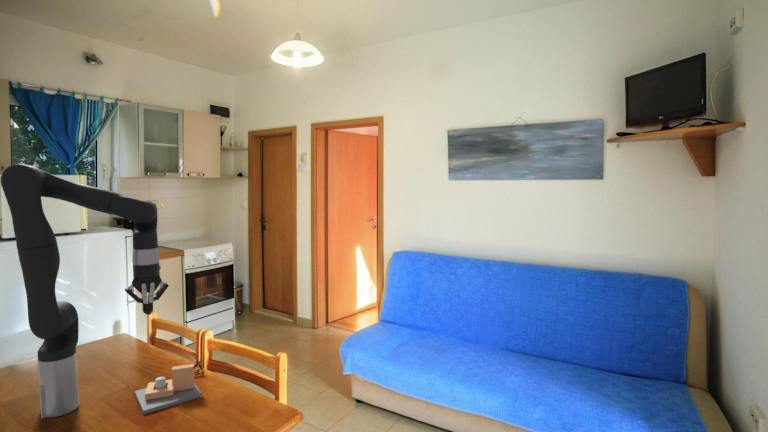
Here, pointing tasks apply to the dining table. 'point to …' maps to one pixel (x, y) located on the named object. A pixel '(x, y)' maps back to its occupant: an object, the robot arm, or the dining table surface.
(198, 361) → the wooden post with brackets
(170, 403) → the post base
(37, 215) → the robot arm
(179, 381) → the peach open lidded box
